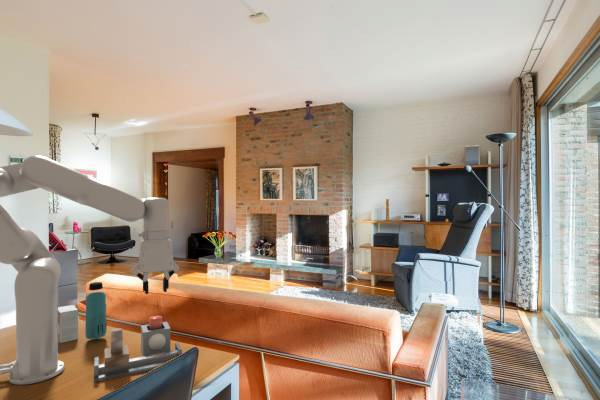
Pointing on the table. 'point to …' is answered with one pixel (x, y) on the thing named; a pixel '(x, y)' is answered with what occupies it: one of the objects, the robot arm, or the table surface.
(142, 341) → the gauge cabinet
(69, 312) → the small box
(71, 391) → the table surface
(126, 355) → the carriage
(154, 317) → the gauge button
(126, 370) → the rail track
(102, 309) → the beverage bottle
